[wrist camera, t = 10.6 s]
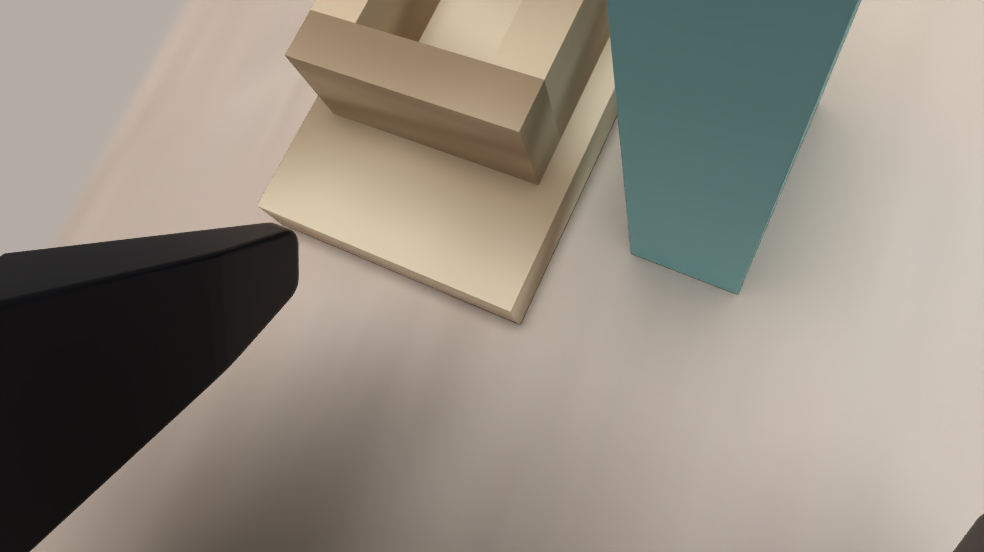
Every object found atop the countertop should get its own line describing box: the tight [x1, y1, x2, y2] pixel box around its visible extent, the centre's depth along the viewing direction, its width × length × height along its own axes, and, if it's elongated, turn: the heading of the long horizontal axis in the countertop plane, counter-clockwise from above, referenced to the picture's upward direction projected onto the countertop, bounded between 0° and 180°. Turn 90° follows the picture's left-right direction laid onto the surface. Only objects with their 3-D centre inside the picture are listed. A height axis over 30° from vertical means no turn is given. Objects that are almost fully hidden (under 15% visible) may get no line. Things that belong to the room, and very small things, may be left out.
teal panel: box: [607, 0, 861, 294], centre depth 11 cm, size 5×2×11 cm, turn 154°
